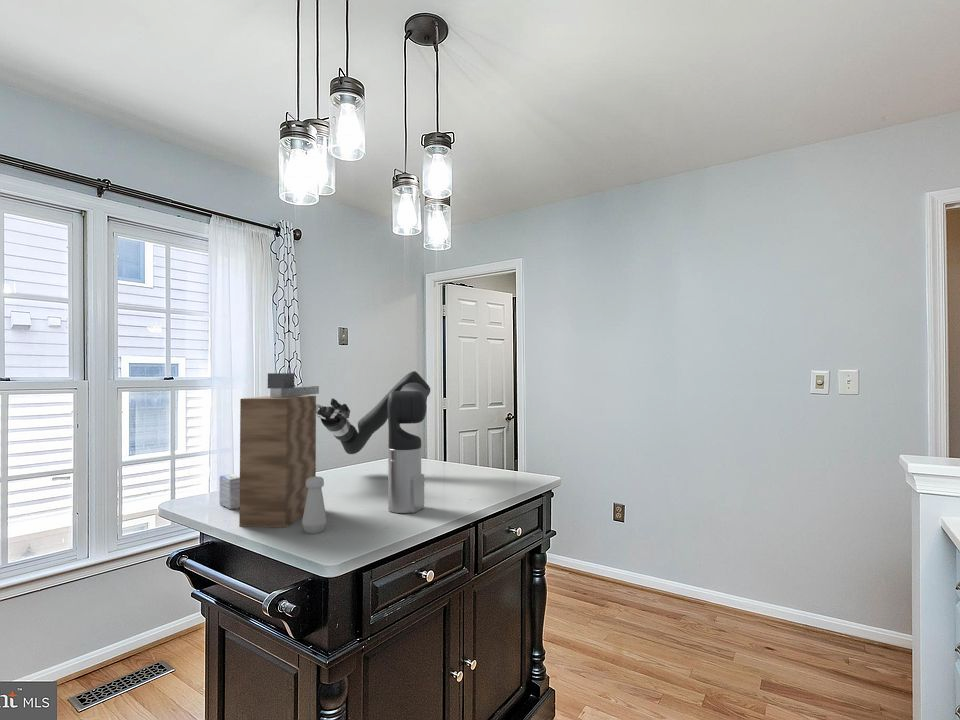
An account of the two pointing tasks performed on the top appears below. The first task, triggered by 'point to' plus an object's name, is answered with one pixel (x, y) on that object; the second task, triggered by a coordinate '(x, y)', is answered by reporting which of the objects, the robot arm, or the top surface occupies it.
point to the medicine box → (230, 491)
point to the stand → (276, 458)
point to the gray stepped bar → (287, 386)
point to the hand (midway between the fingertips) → (319, 401)
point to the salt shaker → (314, 507)
